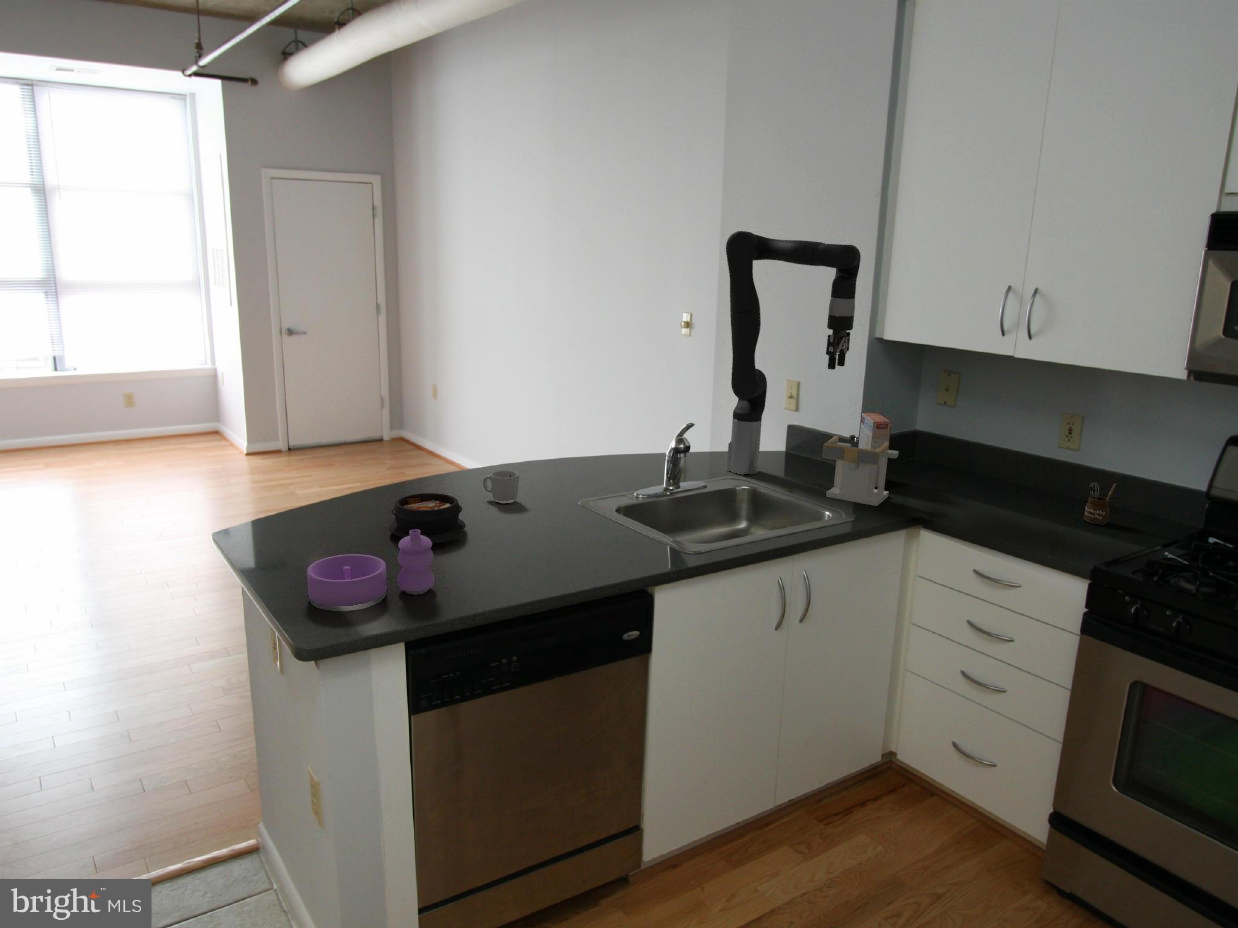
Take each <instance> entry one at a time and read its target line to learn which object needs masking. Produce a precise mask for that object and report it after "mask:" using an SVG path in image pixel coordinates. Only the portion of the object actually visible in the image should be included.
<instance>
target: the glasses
mask: <svg viewBox="0 0 1238 928" xmlns="http://www.w3.org/2000/svg"><path fill="white" fill-rule="evenodd" d="M834 442H839V435H834V436H833V437H832V438H831V439H828V441H826V442H825V443H824V444H823V445H822V453H821V457H822V458H823V459H829V460H834V461H836V460H842V461H849V462H856V463H863V464H870V465H877V466H878V465H879V462H880V454H881V453H882V452H883V451H884V450H885V449H886V450H889V446H890V442H889V443H884V444H883V445H882V446H881V447H880V448H879V449H878V450H870V449H863V448H858V447H854V446H851V447H849V446H841V445H834V444H833V443H834Z"/></svg>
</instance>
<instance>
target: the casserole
mask: <svg viewBox="0 0 1238 928" xmlns="http://www.w3.org/2000/svg"><path fill="white" fill-rule="evenodd" d="M462 511H463V506H461V505H460V503H459V500H458V499H457V498H456V497H455V496H452V495H449V494H444V493H437V492H436V493H435V492H434V493H433V492H430V493H429V492H426V493H415V494H410V495H405V496H402V497H400V498H398V499H396V501H395V504H394V506H393V508H392V509H391V514H392V515H393V516H394V519H393V522H391V524H389V526H388V531H389V532H390V533H392V534H393V535H395V536H398V537H400V538H402V539H403V538H405V537H407V536H410V533H409V531H410V530H415V529H416V530H420V535H422V536H425V537H427V538H429V539H430V540H431V542H432V545H433V544H442V543H445V542H446V543H448V542H452V541H456V540H459V539H461V538H462V537H463V533H464V530H465V529H466V526H467V525H466V523H465V521H463V519H461V518H459V517H460V513H462Z"/></svg>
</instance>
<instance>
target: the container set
mask: <svg viewBox="0 0 1238 928" xmlns="http://www.w3.org/2000/svg"><path fill="white" fill-rule="evenodd" d="M409 533H410V536H407V537H405V538H403V537H402V538H401V539H400V540H399V542H398V549H399V552H398V554H397V562H398V564H399V565H400V566H401V567H402V568H401V569H400V571H399V573H398V576H397V584H398V587H399V588H400V589H401V590H402V589H403V590H407V591H421V590H426V589H429V588H430V587H431V588H432V587H433V586H434V583H435V575H434V572H433V570H432V568H430V565H431V564H432V563H433V560H434V552H433V550H432V549H431V548H432V545H433V544H432V542H431V540H430V539H429V538H427V537H425V536H422V535H420V530H416V529H415V530H410V531H409ZM306 578H307V593H308V595H309V598H310V599H311V600H313V601H315V602H316V603H319V604H323V605H326V606H353V605H358V604H364V603H368V602H370V601H373V600H375V599H377V598H379V597H381V596H382V595H383V594H384V593H385V592H386V589H387V588H388V587H387V564H386V562H385V561H384V560H383V559H381V558H379V557H378V556H375V555H368V554H358V553H356V554H354V553H353V554H352V553H351V554H340V555H332V556H329V557H325V558H321V559H319V560H316V561H315V562H313V563H311V564H310V565H309V566H308V567H307V569H306ZM351 579H352V580H351ZM403 590H402V591H403ZM309 598H308V599H309Z"/></svg>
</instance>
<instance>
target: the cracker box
mask: <svg viewBox="0 0 1238 928" xmlns="http://www.w3.org/2000/svg"><path fill="white" fill-rule="evenodd" d="M891 429H892V422H891V421H890V420H888V419H887V418H886V417H885V416H883V415H882V414H880V413H877V412H876V413H875V412H874V413H873V412H862V414H861V421H860V429H859V439H858V446H857V448H863V449H870V450H876V449H878V448H880V447H881V446H882V445H883V444H884V443H889V444H890V437H891V431H892V430H891ZM880 462H881V456H880ZM880 462H879V465H878V466H877V470H876V479H875V488H878V480H879V471H880Z"/></svg>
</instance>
